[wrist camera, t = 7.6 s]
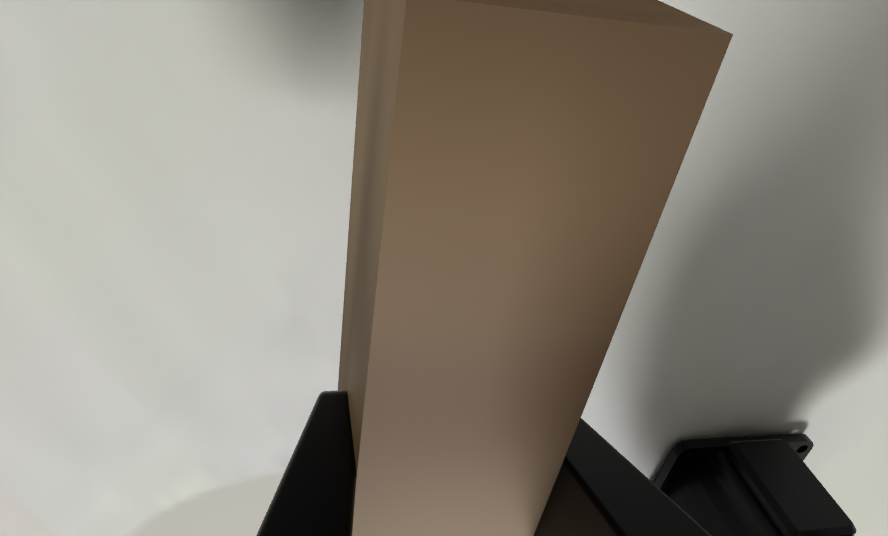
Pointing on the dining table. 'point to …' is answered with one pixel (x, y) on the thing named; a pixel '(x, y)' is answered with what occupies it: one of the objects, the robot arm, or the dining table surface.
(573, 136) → the brown wooden slab
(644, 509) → the robot arm
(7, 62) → the dining table surface
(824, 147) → the dining table surface
